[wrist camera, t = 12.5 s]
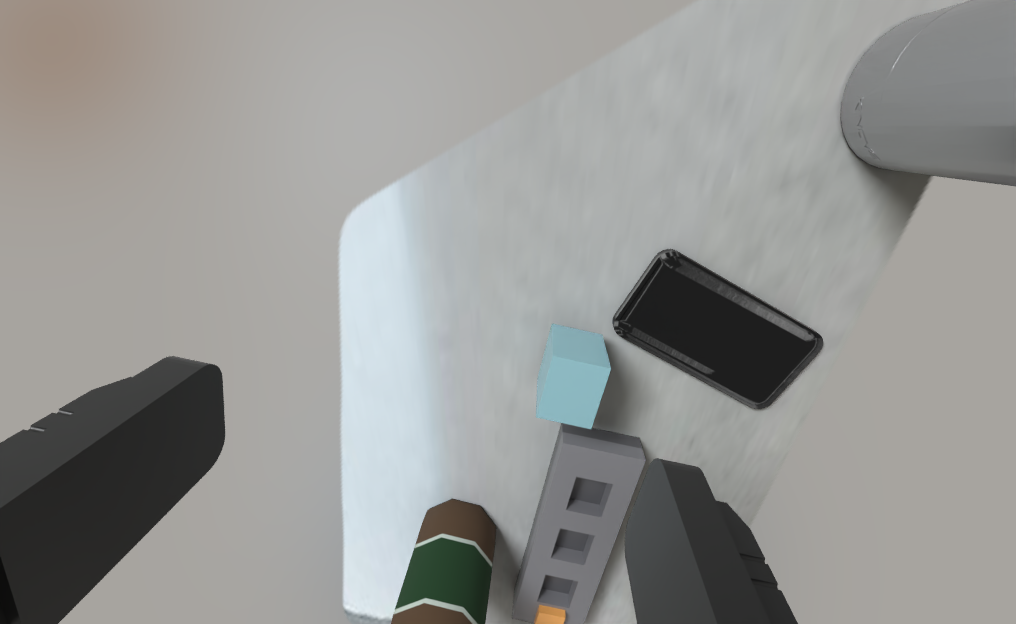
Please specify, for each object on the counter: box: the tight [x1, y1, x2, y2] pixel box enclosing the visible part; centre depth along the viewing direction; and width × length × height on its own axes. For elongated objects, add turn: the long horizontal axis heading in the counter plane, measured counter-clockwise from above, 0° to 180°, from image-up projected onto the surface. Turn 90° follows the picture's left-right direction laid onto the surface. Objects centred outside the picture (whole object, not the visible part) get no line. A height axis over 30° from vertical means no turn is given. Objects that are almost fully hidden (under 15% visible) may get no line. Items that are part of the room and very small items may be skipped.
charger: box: [536, 324, 611, 429], centre depth 35 cm, size 5×4×7 cm
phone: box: [613, 249, 823, 409], centre depth 37 cm, size 8×1×15 cm
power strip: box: [512, 423, 646, 624], centre depth 44 cm, size 22×7×4 cm, turn 169°
